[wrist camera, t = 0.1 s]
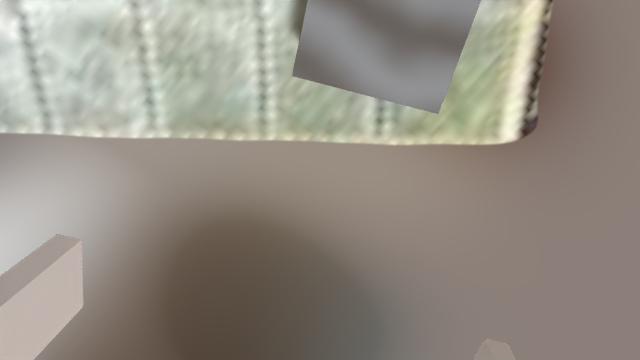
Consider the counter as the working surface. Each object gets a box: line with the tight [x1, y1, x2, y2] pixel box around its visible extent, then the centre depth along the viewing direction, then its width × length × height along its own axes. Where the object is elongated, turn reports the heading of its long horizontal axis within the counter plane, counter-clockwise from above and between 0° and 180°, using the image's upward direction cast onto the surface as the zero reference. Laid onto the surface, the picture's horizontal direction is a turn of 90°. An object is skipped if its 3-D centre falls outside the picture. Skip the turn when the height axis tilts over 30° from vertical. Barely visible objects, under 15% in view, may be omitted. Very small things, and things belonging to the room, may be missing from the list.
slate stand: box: [292, 0, 481, 114], centre depth 32 cm, size 13×13×4 cm
